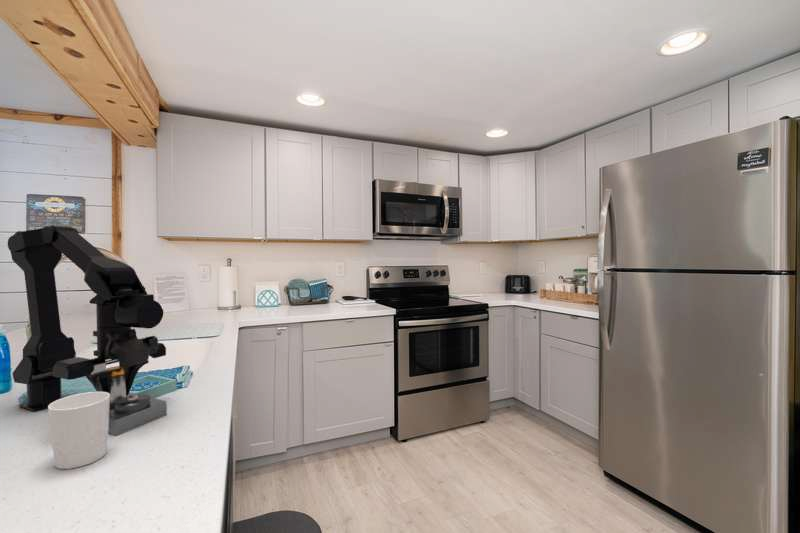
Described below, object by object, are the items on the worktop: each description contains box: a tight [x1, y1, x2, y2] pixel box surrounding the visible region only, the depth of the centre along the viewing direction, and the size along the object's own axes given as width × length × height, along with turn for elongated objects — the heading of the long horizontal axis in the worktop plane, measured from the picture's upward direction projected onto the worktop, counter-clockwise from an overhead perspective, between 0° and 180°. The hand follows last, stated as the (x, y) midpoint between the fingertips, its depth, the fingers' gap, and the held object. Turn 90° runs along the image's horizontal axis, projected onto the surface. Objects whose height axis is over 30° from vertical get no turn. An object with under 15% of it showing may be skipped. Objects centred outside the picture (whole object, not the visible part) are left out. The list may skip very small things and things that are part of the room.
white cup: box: [47, 391, 110, 470], centre depth 62 cm, size 8×8×10 cm
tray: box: [129, 374, 178, 399], centre depth 91 cm, size 10×10×2 cm
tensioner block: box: [108, 393, 168, 437], centre depth 77 cm, size 12×10×5 cm
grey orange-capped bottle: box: [106, 365, 126, 410], centre depth 77 cm, size 4×4×10 cm
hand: (115, 398), depth 78 cm, fingers closed on grey orange-capped bottle, 3 cm apart
